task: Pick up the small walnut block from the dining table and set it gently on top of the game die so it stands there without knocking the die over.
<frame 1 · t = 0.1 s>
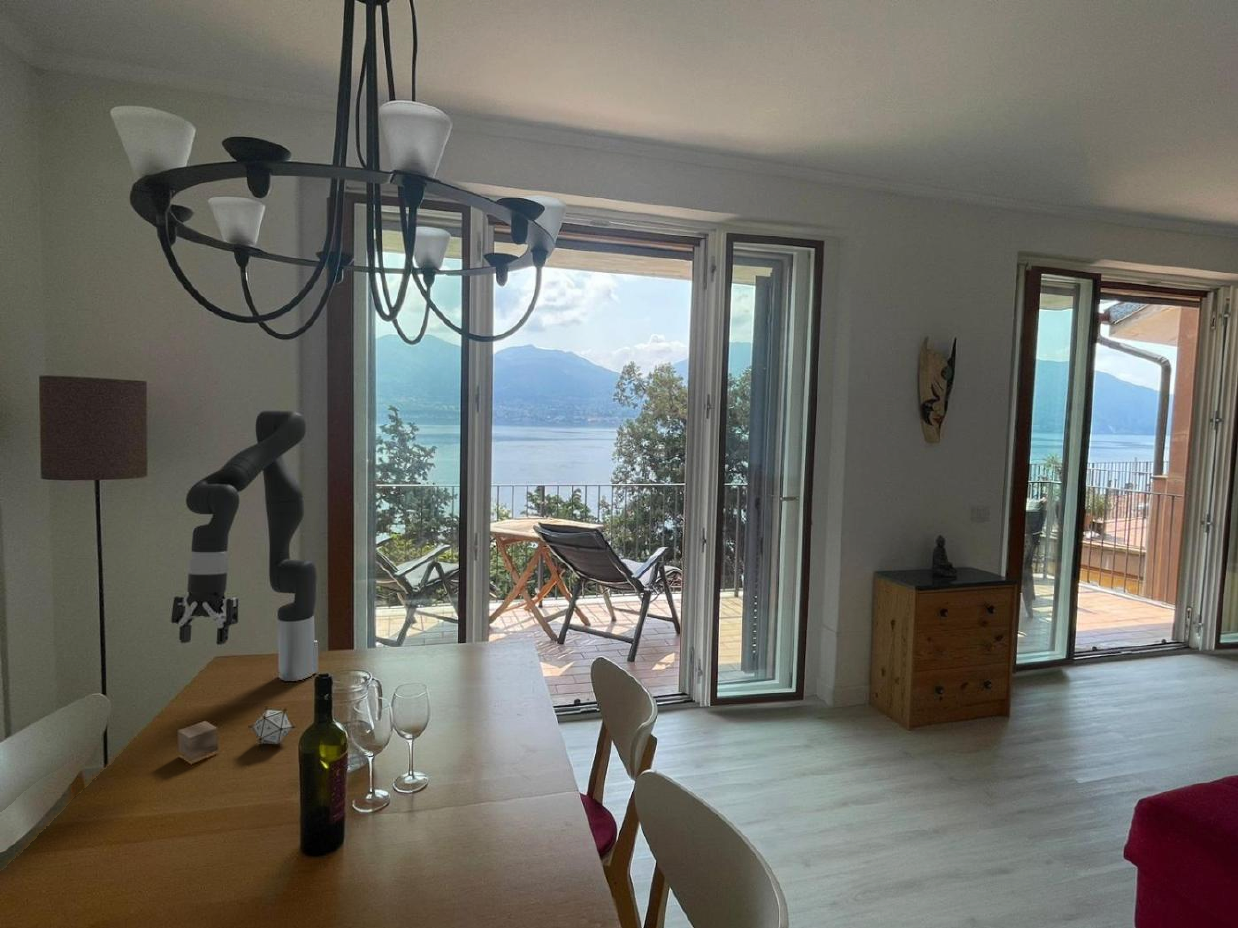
hand: (203, 643, 149), 22 cm above the table, tool pointing down, fingers open, 8 cm apart
walnut block: (198, 755, 143), on the table
game die: (272, 744, 148), on the table
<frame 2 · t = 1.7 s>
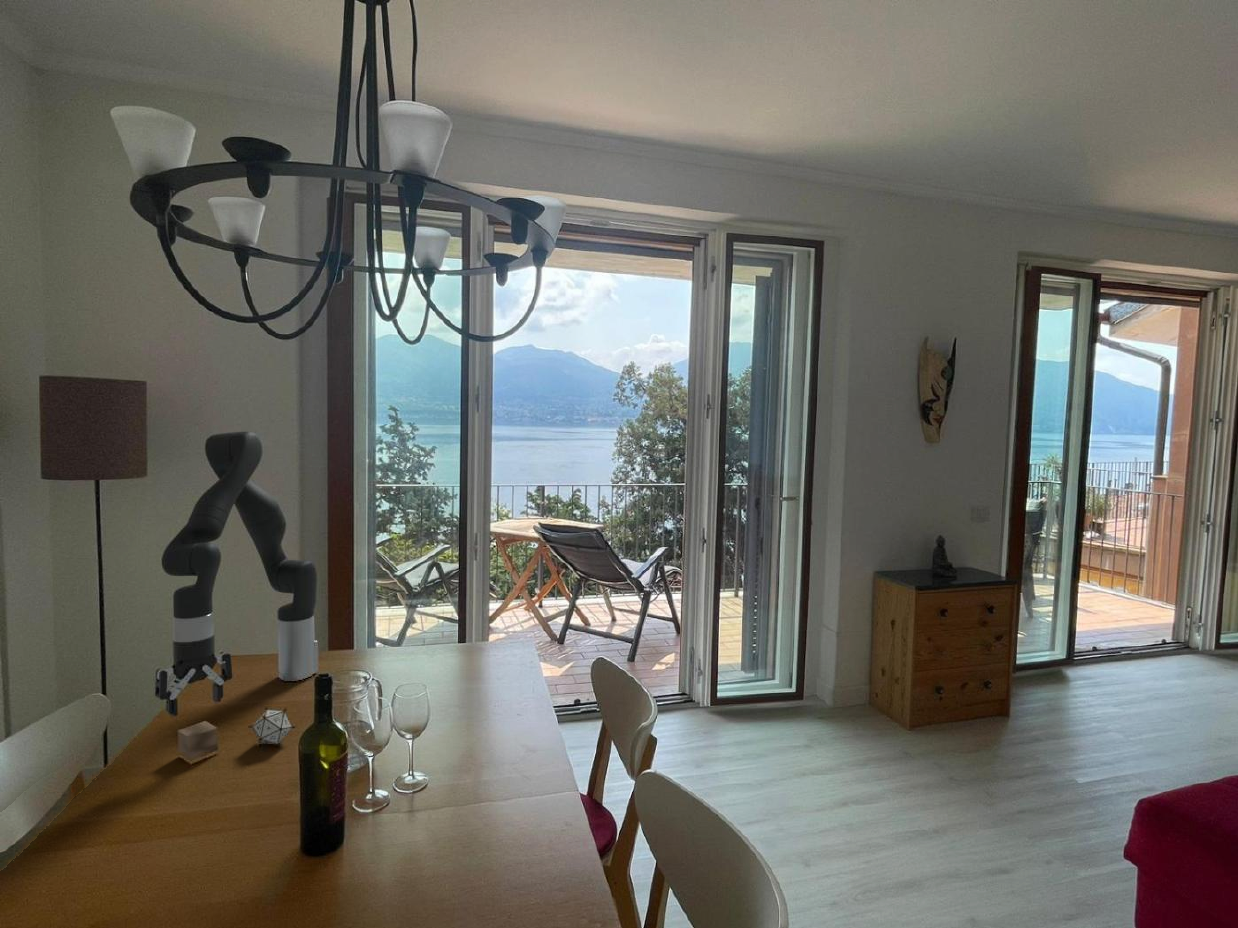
hand: (195, 707, 142), 11 cm above the table, tool pointing down, fingers open, 8 cm apart
nothing on the table moved.
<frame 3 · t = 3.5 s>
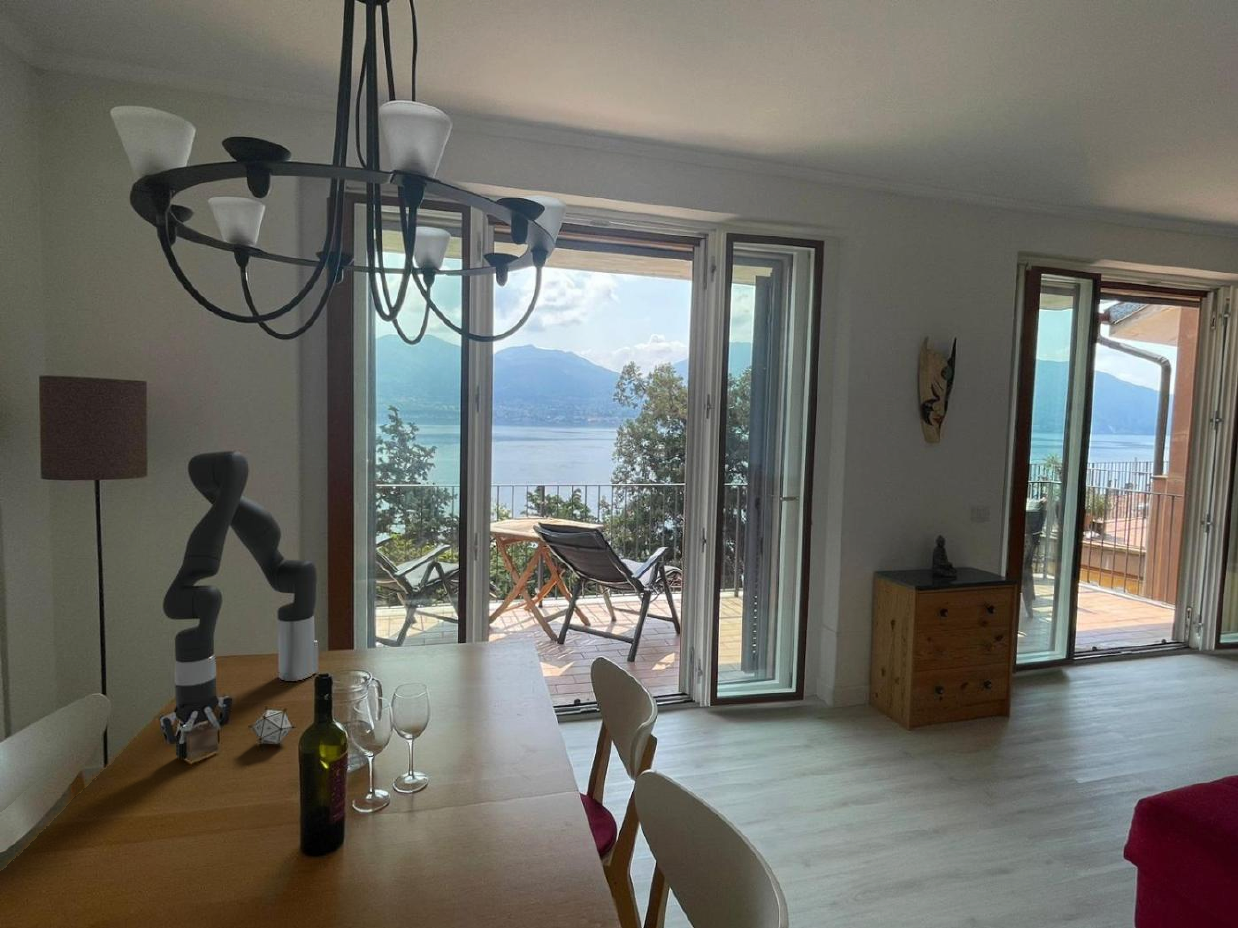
hand: (198, 751, 143), 1 cm above the table, tool pointing down, fingers closed on walnut block, 5 cm apart
walnut block: (198, 755, 143), on the table, touching gripper
everything else where it was.
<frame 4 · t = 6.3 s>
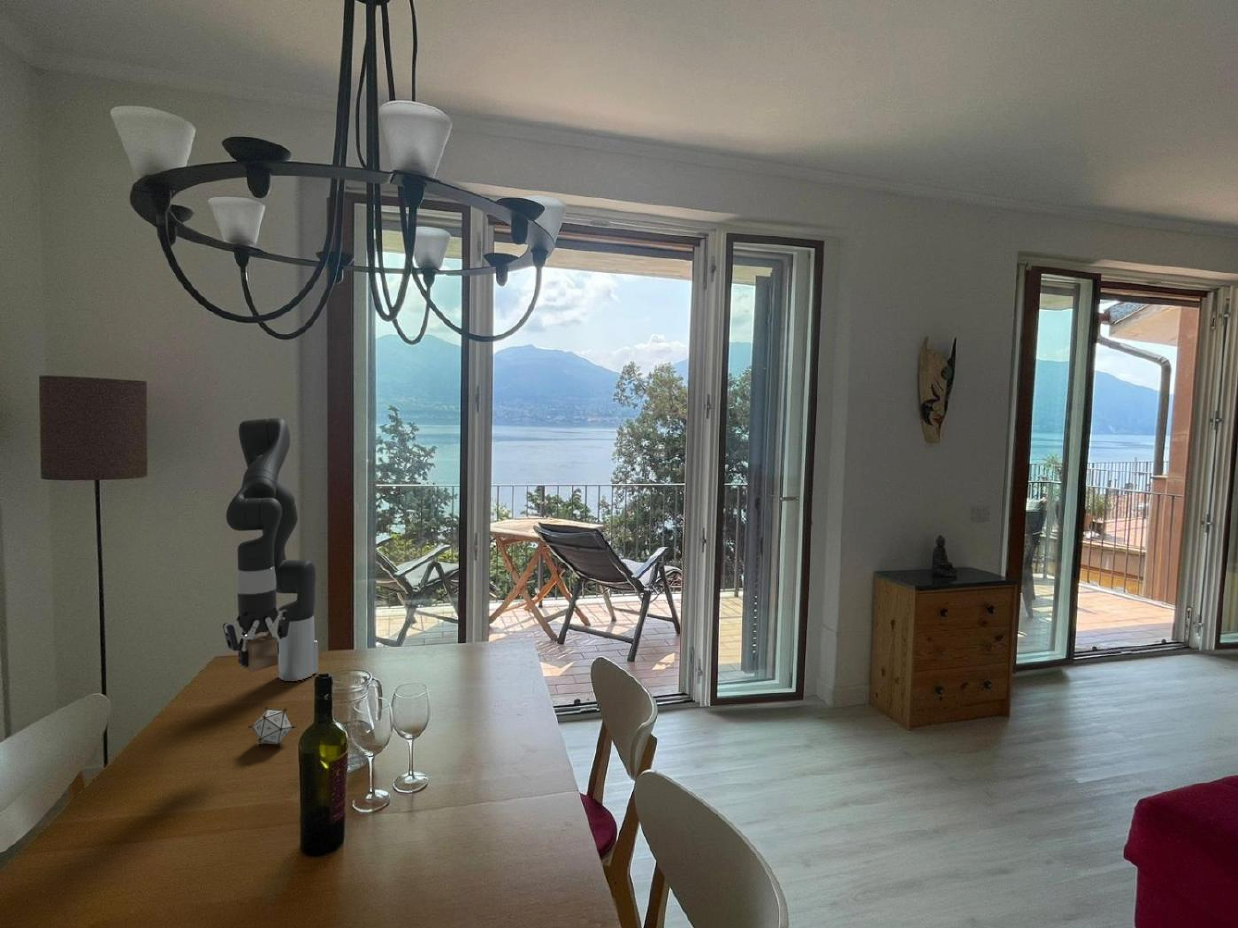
hand: (259, 661, 146), 19 cm above the table, tool pointing down, fingers closed on walnut block, 5 cm apart
walnut block: (259, 665, 146), point 19 cm above the table, touching gripper
everything else where it was.
when the fingers open (10 cm above the table, at t = 9.2 s): walnut block drops 1 cm, resting on game die.
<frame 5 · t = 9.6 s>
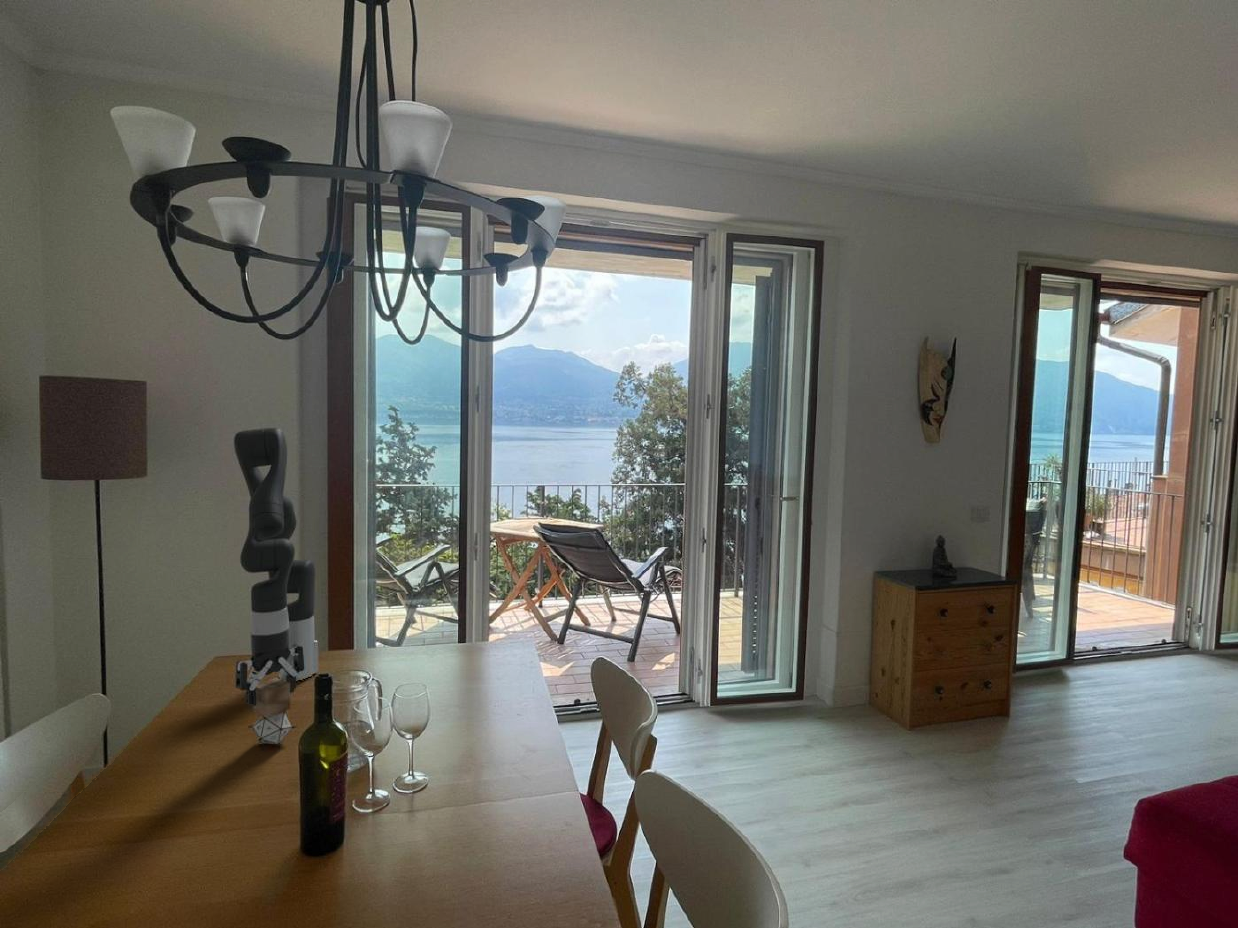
hand: (271, 698, 148), 11 cm above the table, tool pointing down, fingers open, 8 cm apart
walnut block: (271, 709, 148), point 8 cm above the table, touching game die
game die: (272, 744, 148), on the table, touching walnut block
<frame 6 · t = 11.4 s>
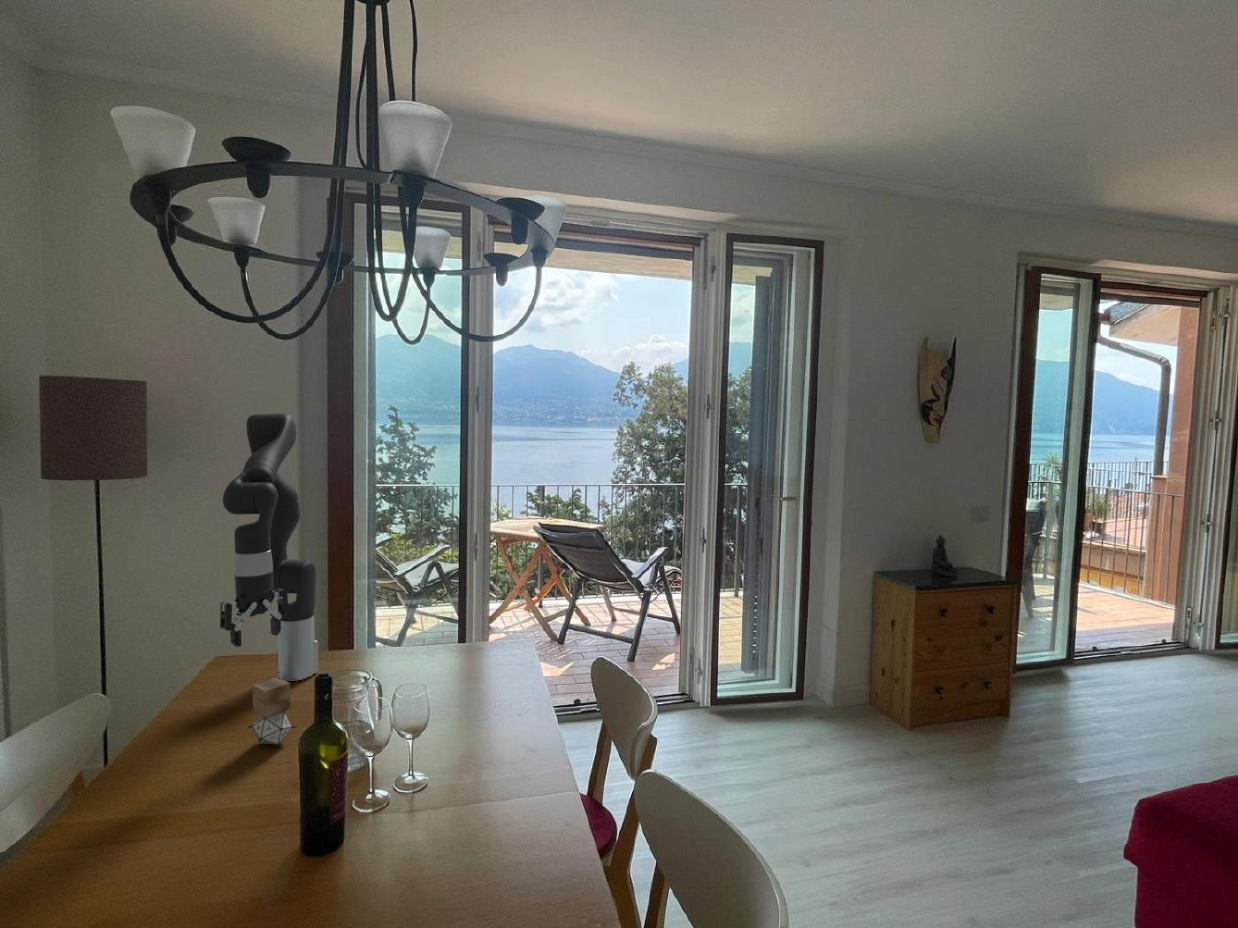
hand: (256, 640, 149), 23 cm above the table, tool pointing down, fingers open, 8 cm apart
nothing on the table moved.
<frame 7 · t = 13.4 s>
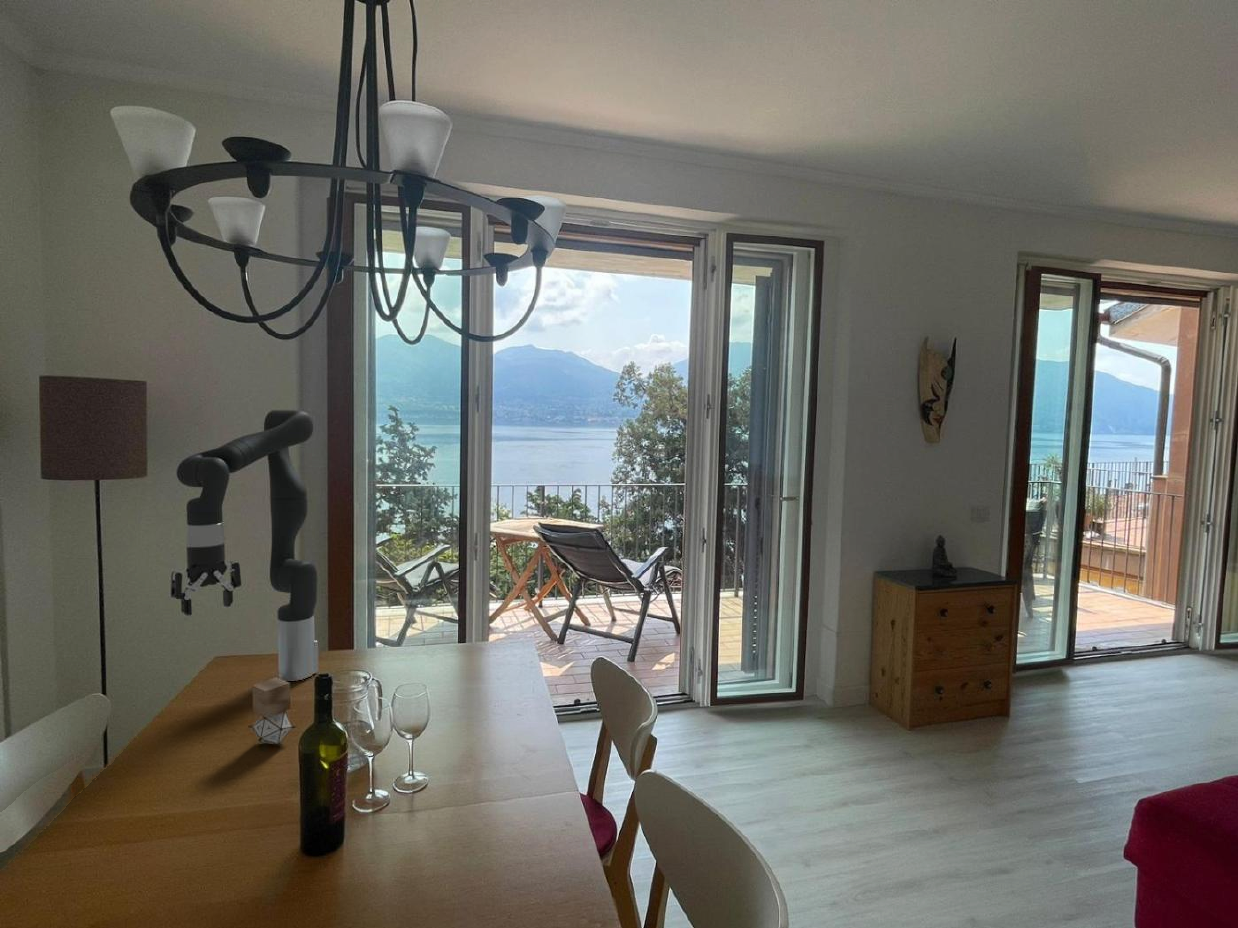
hand: (207, 610, 154), 28 cm above the table, tool pointing down, fingers open, 8 cm apart
nothing on the table moved.
at the end: walnut block 0.0 cm off-centre on the game die, point 8.2 cm above the game die's base; walnut block tilted 0°; game die moved 0.2 cm from its start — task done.
